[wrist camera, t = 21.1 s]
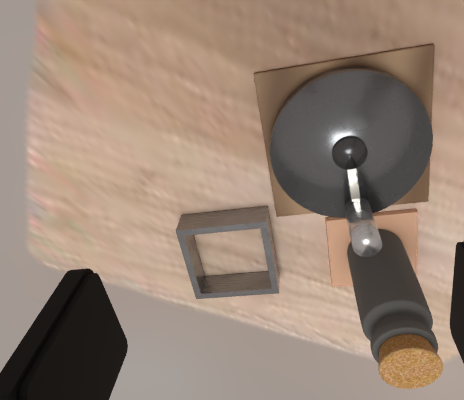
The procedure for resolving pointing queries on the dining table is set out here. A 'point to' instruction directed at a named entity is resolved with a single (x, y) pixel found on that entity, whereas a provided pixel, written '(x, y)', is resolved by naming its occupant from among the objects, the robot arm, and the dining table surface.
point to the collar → (231, 282)
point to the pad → (393, 221)
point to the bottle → (395, 315)
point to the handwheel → (351, 147)
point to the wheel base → (288, 79)
